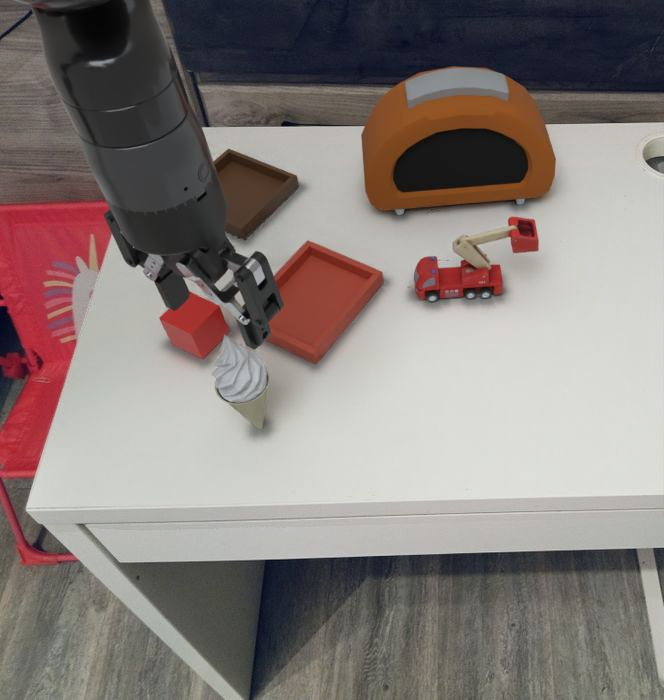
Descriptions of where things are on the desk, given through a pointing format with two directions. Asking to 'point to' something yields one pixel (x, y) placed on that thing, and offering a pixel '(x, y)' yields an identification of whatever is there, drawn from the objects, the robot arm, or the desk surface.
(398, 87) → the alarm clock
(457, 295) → the toy fire truck
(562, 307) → the desk surface
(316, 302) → the red tray
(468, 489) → the desk surface
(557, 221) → the desk surface
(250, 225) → the brown tray
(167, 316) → the red block
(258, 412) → the ice cream cone
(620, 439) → the desk surface
